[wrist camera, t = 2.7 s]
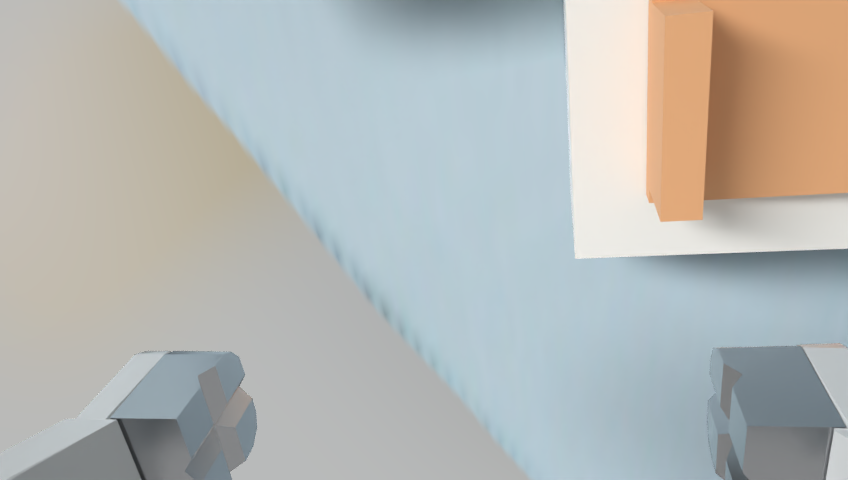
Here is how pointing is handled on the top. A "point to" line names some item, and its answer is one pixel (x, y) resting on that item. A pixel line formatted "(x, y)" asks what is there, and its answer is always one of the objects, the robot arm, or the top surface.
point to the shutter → (745, 101)
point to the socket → (627, 157)
